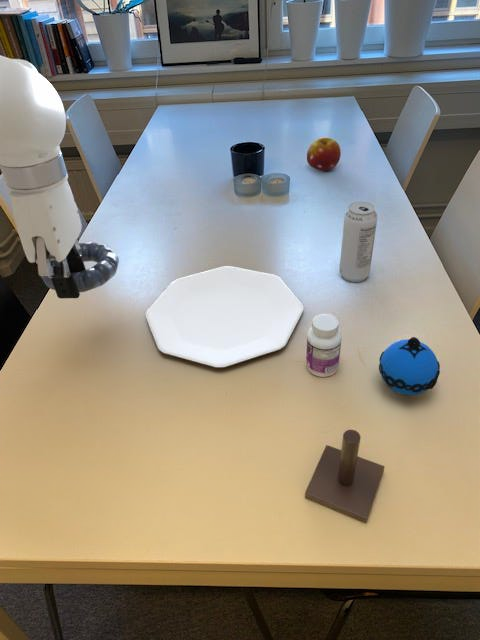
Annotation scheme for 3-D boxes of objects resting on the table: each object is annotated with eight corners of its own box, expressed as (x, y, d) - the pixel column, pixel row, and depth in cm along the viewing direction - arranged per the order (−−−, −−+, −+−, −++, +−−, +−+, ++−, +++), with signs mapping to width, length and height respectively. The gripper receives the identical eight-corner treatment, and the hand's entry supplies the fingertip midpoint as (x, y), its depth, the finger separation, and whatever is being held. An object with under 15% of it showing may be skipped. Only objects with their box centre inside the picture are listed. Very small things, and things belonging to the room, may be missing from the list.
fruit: (316, 177, 136) (318, 148, 131) (300, 166, 142) (300, 138, 137) (346, 169, 139) (348, 141, 133) (328, 159, 145) (330, 131, 140)
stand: (366, 523, 60) (376, 476, 53) (304, 497, 63) (307, 450, 56) (383, 471, 65) (394, 422, 58) (325, 449, 68) (330, 401, 61)
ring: (86, 304, 71) (80, 287, 69) (28, 286, 75) (21, 269, 73) (134, 263, 79) (130, 247, 77) (79, 249, 83) (75, 233, 81)
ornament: (364, 384, 77) (371, 337, 70) (399, 359, 80) (409, 311, 74) (409, 417, 71) (422, 369, 65) (445, 388, 75) (460, 340, 69)
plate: (173, 389, 78) (172, 383, 77) (136, 295, 98) (134, 289, 97) (326, 339, 85) (326, 333, 84) (262, 261, 105) (262, 255, 104)
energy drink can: (353, 263, 102) (361, 196, 93) (375, 276, 99) (385, 208, 89) (332, 274, 100) (338, 206, 90) (354, 287, 96) (362, 218, 86)
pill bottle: (307, 353, 83) (309, 308, 77) (339, 356, 82) (344, 311, 75) (304, 376, 79) (305, 331, 72) (337, 380, 78) (342, 334, 71)
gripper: (30, 148, 69) (67, 259, 80) (-25, 200, 56) (28, 324, 67) (82, 146, 68) (112, 258, 80) (39, 198, 55) (81, 323, 67)
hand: (73, 287), depth 73 cm, fingers closed on ring, 3 cm apart
